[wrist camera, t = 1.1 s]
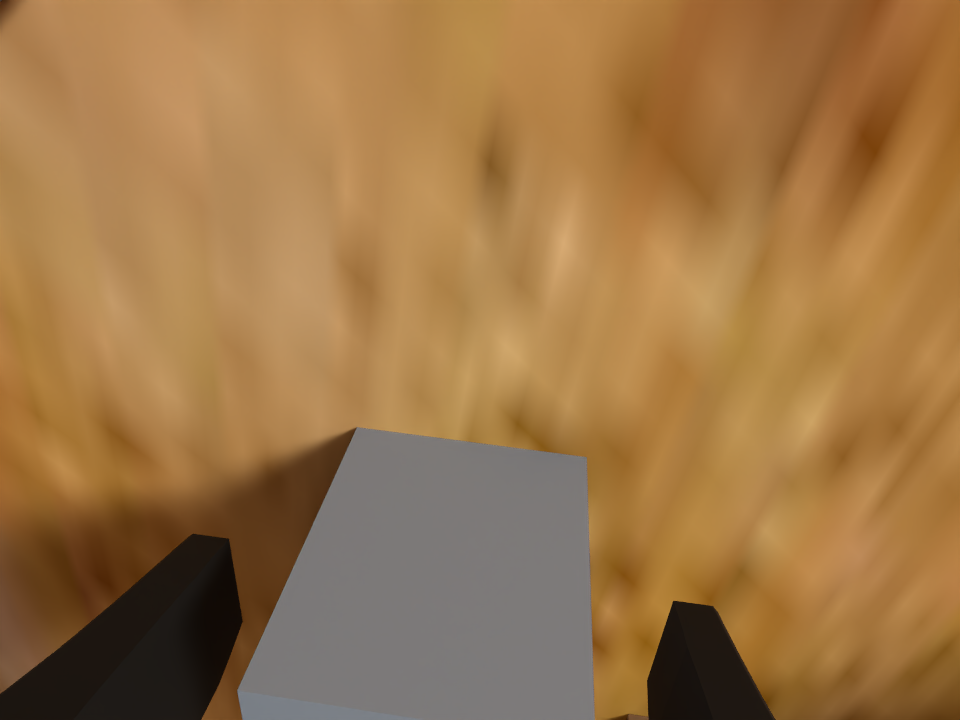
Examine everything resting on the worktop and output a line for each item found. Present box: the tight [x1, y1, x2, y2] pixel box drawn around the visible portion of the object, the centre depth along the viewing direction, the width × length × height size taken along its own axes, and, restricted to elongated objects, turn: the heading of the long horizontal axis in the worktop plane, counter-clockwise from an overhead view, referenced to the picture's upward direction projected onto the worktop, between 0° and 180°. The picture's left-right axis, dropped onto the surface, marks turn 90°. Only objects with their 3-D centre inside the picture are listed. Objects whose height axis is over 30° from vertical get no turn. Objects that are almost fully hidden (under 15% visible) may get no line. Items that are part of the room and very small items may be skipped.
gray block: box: [237, 427, 595, 720], centre depth 11 cm, size 4×4×5 cm
